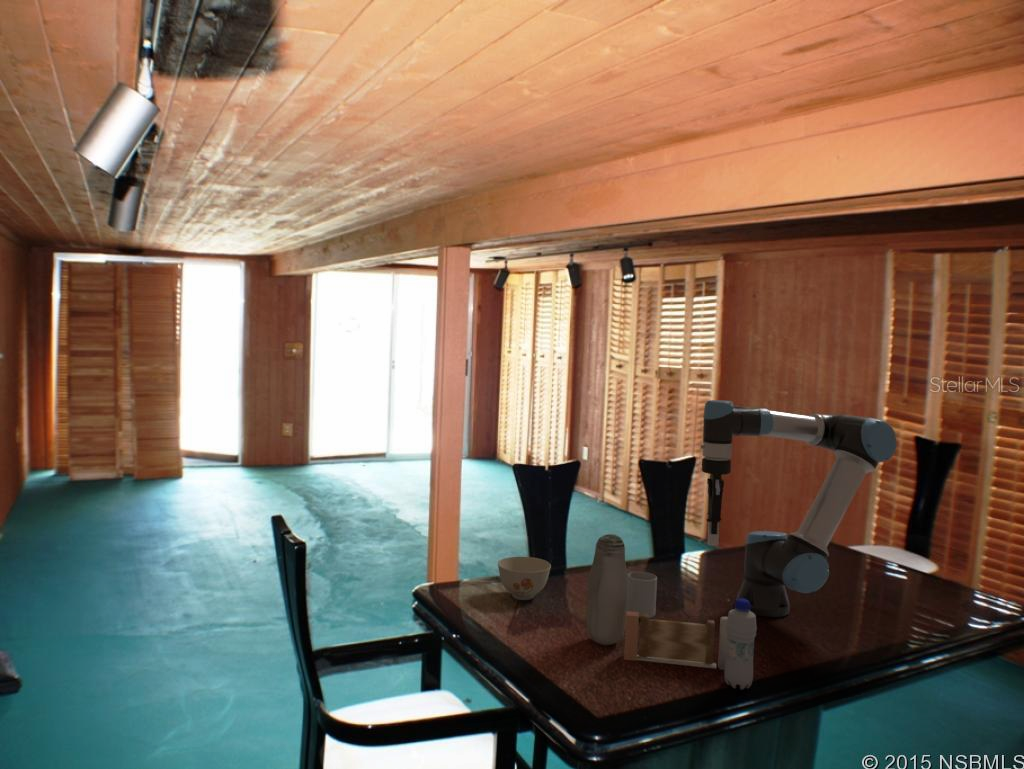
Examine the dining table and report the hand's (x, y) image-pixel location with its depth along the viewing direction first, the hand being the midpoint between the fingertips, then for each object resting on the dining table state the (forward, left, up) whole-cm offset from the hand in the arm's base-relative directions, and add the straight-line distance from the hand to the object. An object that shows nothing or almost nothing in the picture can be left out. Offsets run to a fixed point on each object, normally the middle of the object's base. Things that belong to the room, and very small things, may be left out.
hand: (712, 544), depth 203 cm
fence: (+9, +23, -24) cm, 34 cm away
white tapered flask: (+27, +15, -24) cm, 39 cm away
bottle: (-4, +32, -24) cm, 40 cm away
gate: (+10, +23, -23) cm, 34 cm away
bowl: (+53, -14, -24) cm, 60 cm away
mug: (+19, -11, -24) cm, 33 cm away
